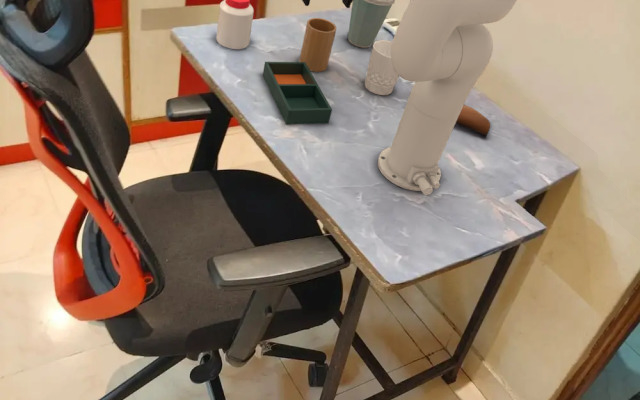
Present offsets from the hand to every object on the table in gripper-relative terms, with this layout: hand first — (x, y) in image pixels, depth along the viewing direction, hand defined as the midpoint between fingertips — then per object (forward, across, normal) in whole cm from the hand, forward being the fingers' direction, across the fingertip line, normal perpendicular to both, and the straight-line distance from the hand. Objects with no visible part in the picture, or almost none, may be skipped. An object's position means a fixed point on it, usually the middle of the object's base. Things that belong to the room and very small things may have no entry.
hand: (325, 4), depth 130 cm
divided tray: (+15, -9, -15) cm, 22 cm away
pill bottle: (+15, -17, +9) cm, 25 cm away
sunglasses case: (+15, +26, -23) cm, 37 cm away
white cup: (+15, +13, -11) cm, 22 cm away
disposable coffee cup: (+15, +17, +10) cm, 25 cm away
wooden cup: (+15, 0, -1) cm, 15 cm away
